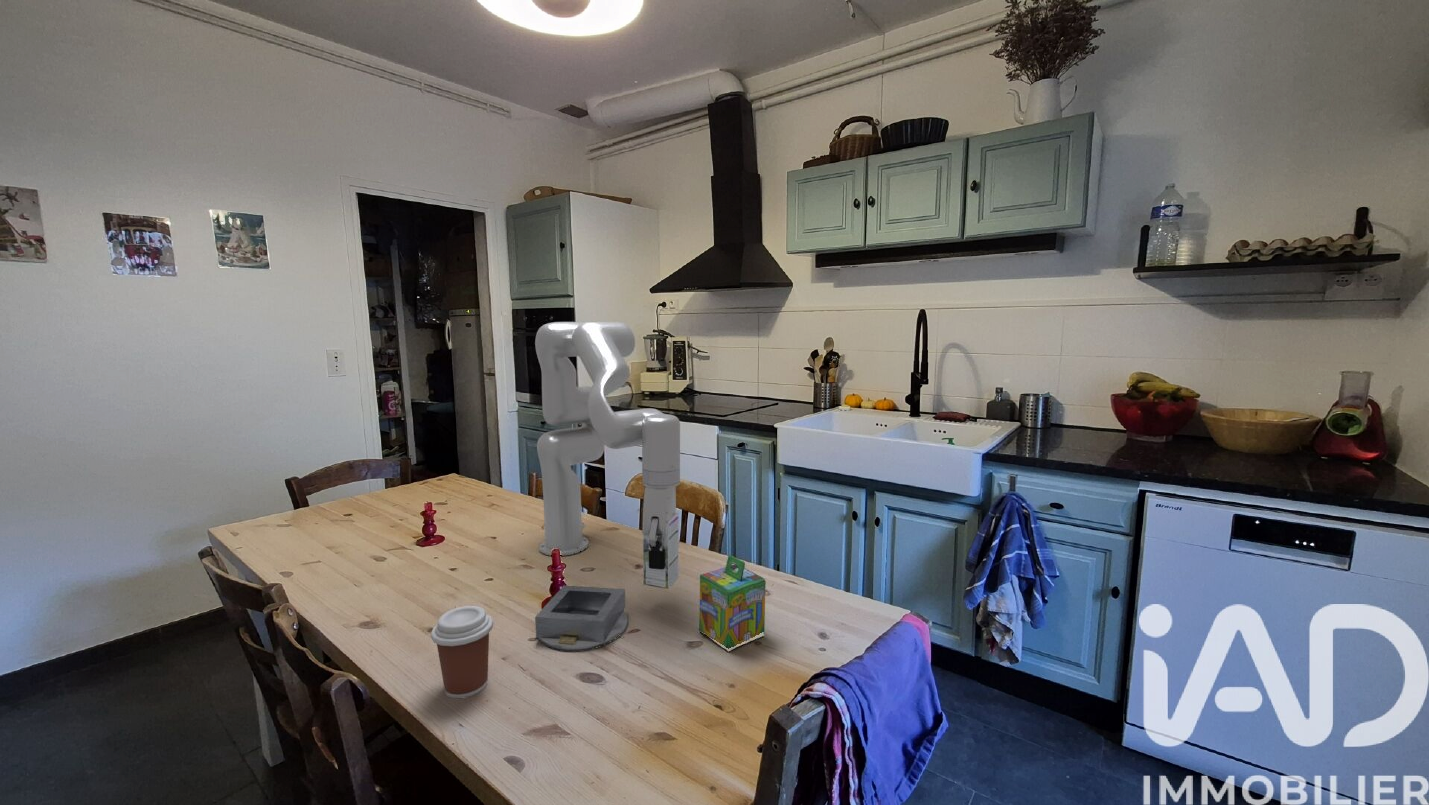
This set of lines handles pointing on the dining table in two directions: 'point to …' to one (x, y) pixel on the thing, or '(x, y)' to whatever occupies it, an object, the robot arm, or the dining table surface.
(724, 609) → the chalk box
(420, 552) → the dining table surface
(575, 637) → the open box
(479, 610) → the coffee cup
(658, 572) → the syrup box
